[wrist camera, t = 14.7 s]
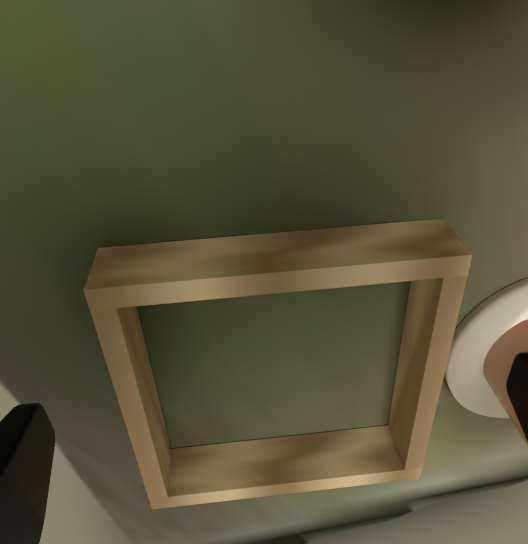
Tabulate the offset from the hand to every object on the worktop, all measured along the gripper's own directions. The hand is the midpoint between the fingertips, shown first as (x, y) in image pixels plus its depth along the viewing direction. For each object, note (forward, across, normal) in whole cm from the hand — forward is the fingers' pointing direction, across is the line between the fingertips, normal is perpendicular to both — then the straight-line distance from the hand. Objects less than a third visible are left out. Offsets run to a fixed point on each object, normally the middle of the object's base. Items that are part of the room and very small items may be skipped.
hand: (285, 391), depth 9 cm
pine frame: (+12, -1, +11) cm, 16 cm away
